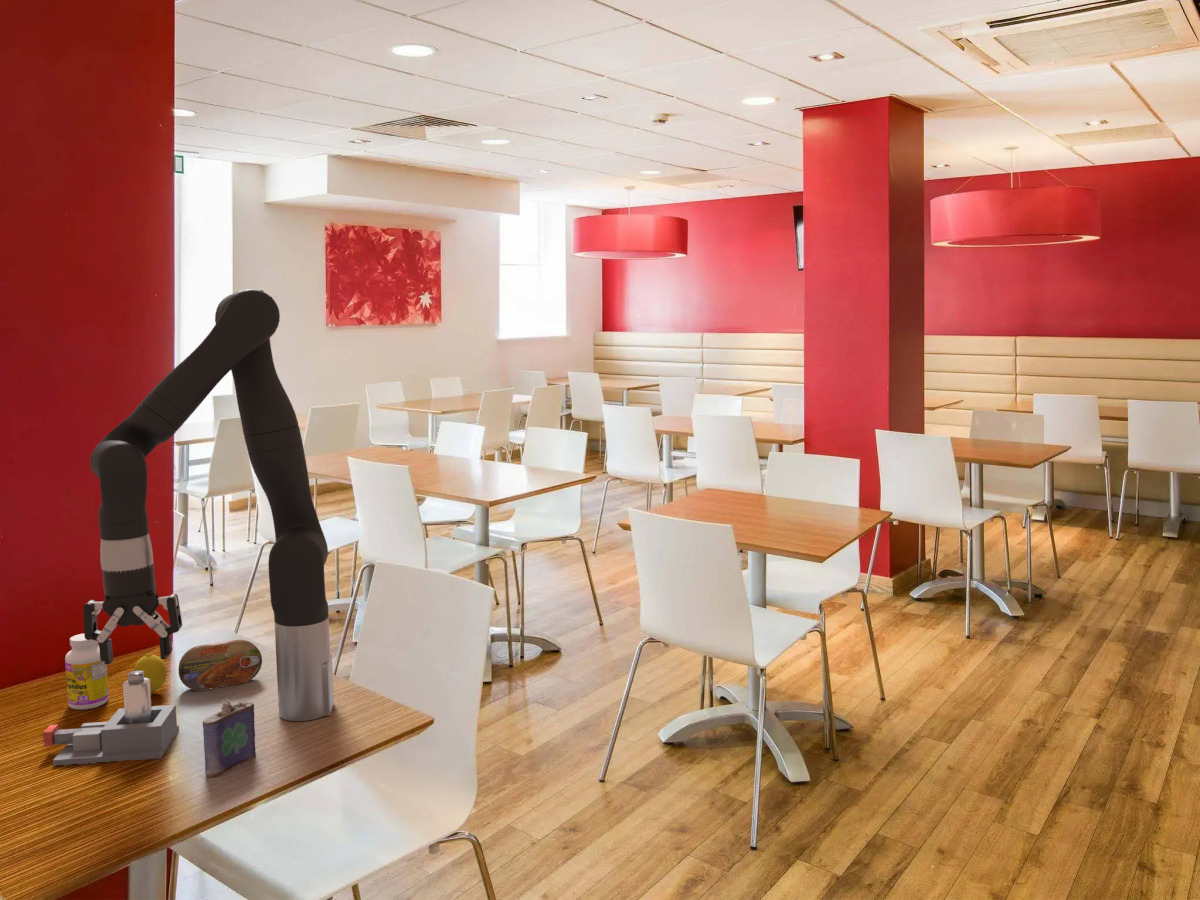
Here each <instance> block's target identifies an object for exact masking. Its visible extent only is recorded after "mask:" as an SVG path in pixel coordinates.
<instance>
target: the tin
mask: <svg viewBox="0 0 1200 900" xmlns="http://www.w3.org/2000/svg"><path fill="white" fill-rule="evenodd" d="M262 664H263V656H262V652H261V651H260V649H259V648H258V647H257V646H256V645H255V644H254V643H252V642H251V641H249V640H246V639H233V640H228V641H227V640H226V641H221V642H215V643H209V644H202V645H196V646H193V647H192V648H190V649H188V650H187V651H186V652H185V653H184V654H183V655H182V656H181V659H180V661H179V663H178V677H179V680H180V682H181V684H183V685H184V686H185V687H187V688H188V689H190V690H193V691H197V692H198V691H199V690H201V691H206V690H205V689H207V690H211V689H210V688H213V689H217V688H216V687H219V688H223V687H222V686H225V687H227V686H226V685H231V686H233V685H232V684H237V685H240V684H239V683H242V684H245V682H246V683H248V682H250V681H251V680H253V679H254V678H255V677H256V676H257V675H258V674H259V672H260V670H261V668H262Z"/></svg>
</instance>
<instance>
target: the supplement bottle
mask: <svg viewBox="0 0 1200 900" xmlns="http://www.w3.org/2000/svg"><path fill="white" fill-rule="evenodd" d="M69 645H70V647H71V650H69V651H68V652H67V653H66V654H65V658H64V660H65V661H64V663H65V676H66V677H65V678H66V690H67V691H66V692H67V702H68V707H69V708H70V709H73V710H82V711H83V710H85V711H86V710H91V709H96V708H99V707H101V706H103V705H105V704H106V703H107V702H108V701H109V698H110V695H109V694H110V692H109V678H108V667H107V665H108V664H106V665H105V662H104V661H101V659H100V651H99V643H98V642H97V641H95V640H86V639H85V637H84V633H80V634H79V633H78V634H76V635H73V636H71V637H70V638H69Z"/></svg>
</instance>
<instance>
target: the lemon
mask: <svg viewBox="0 0 1200 900" xmlns="http://www.w3.org/2000/svg"><path fill="white" fill-rule="evenodd" d="M163 660H164V659H161V656H158V655H156V654H152V653H150V652H148V653H146V654H145V655H143V656H141V658H139V659H138V660H137V662H136V663H135V666H134V670H133V671H144V678H148V679H150V691H151V695H154V694H155V692H156V691H158V690H160V689H161V688H162V686H163V685H165V682H166V679H167V669H166V665H165V662H164V661H163Z"/></svg>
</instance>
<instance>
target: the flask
mask: <svg viewBox="0 0 1200 900" xmlns="http://www.w3.org/2000/svg"><path fill="white" fill-rule="evenodd" d="M219 704H222V707H221V708H220V711H218V712H215V713H214V714H212V715H210V716H208V717H206V718H205V719H203V720H202V730H203V731H202V732H203V733H202V734H203V750H204V767H205V768H204V774H205V776H206V777H207V778H211V779H212V778H214V777H219V776H221V775H224V773H227V772H229V771H232V770H234V769H235V768H237V767H238V766H239V765H243V764H244V763H246V762H249V761H250V760H254V759H255V758H257V754H256V753H257V752H256V731H255V730H256V728H255V704H254V703H253V702H249V701H244V702H242V701H240V702H237V703H235V704H232V702H231V701H230V699H227V698H224V699H222V700H221V701H219Z"/></svg>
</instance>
